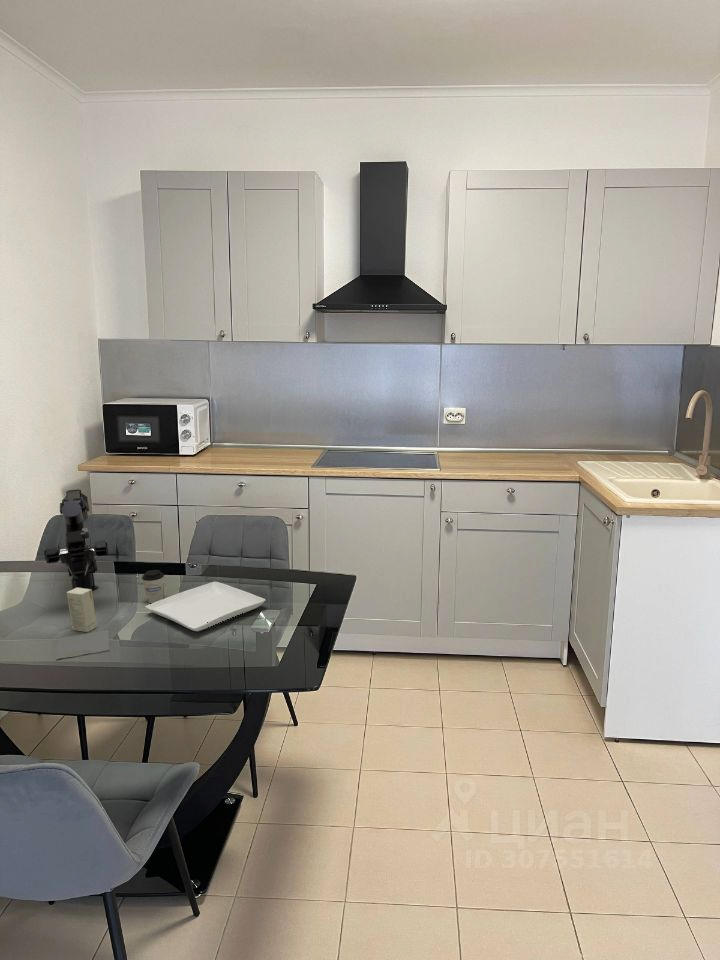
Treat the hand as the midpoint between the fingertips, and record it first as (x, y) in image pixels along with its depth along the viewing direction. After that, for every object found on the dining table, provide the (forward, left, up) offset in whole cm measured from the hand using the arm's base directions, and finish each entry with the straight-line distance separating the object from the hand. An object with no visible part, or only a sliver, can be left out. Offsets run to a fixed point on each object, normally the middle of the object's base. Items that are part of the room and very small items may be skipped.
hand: (79, 575), depth 229 cm
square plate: (-20, +34, -13) cm, 41 cm away
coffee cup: (-18, +13, -13) cm, 25 cm away
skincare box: (+7, +10, -13) cm, 18 cm away
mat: (+15, +19, -13) cm, 27 cm away
